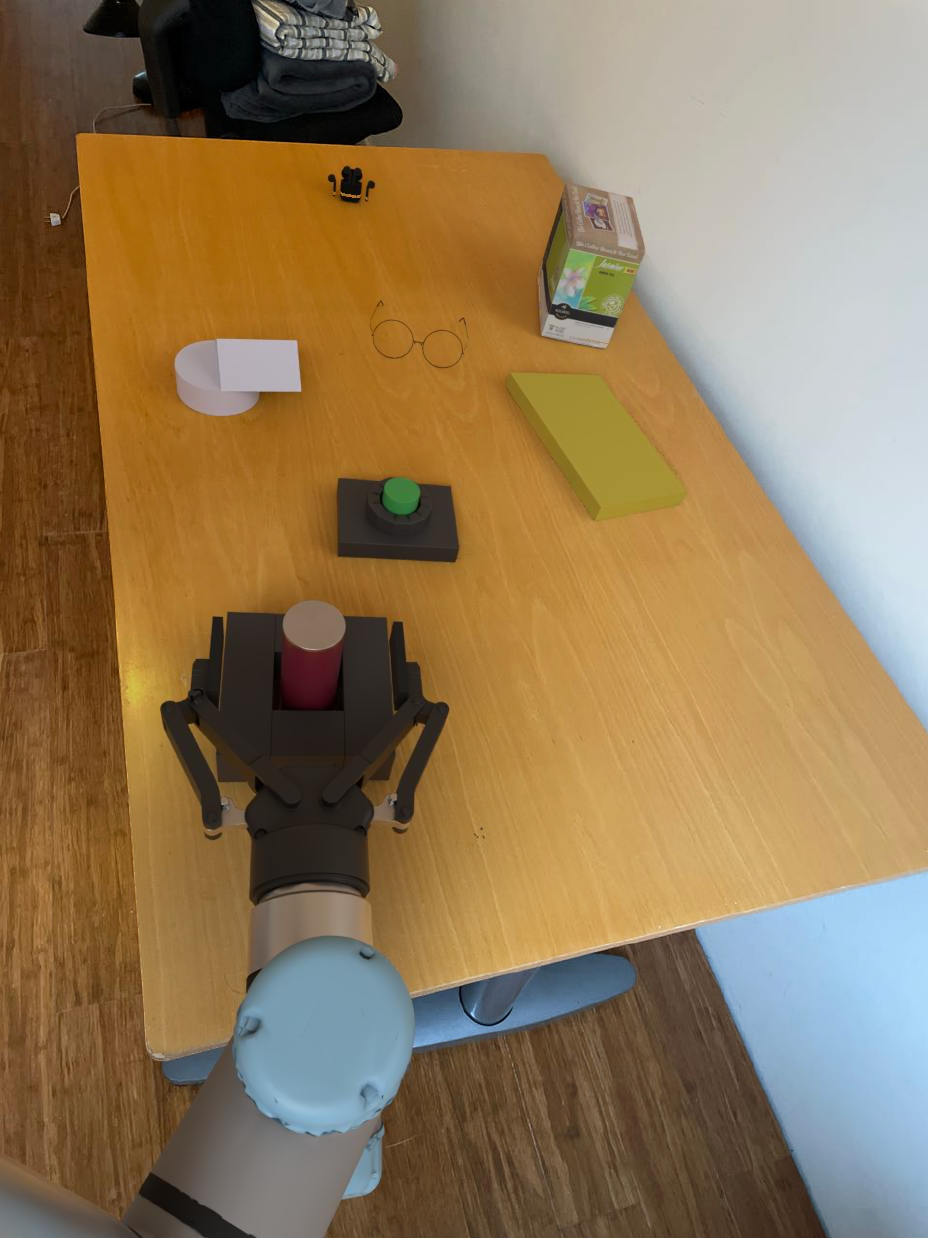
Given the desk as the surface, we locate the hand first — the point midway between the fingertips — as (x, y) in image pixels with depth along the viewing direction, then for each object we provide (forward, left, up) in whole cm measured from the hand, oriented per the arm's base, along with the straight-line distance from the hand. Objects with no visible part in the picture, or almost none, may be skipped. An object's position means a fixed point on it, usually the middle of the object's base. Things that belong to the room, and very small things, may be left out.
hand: (309, 628), depth 64 cm
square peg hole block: (0, -2, -9) cm, 10 cm away
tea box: (+37, +64, -10) cm, 75 cm away
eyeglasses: (+14, +54, -10) cm, 57 cm away
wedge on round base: (-8, +40, -10) cm, 42 cm away
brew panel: (+9, +20, -9) cm, 24 cm away
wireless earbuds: (+6, +88, -10) cm, 89 cm away
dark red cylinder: (0, -2, -10) cm, 10 cm away
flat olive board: (+34, +36, -10) cm, 51 cm away
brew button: (+9, +20, -6) cm, 23 cm away
